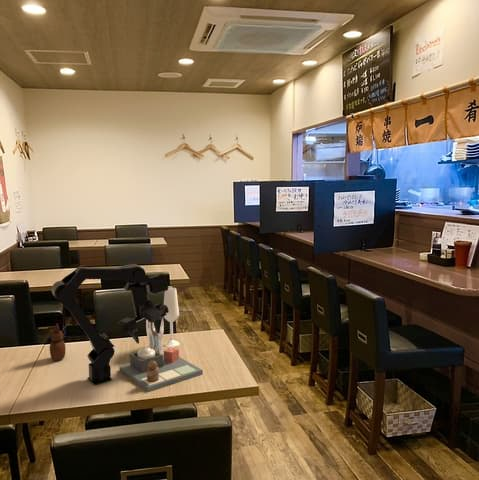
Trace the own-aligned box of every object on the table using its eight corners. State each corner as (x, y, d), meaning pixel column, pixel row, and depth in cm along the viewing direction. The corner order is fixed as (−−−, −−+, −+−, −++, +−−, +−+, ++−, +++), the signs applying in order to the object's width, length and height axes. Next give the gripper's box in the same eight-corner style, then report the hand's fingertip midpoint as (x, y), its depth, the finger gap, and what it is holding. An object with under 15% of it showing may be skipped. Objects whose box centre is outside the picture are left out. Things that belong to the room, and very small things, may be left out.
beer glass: (166, 349, 196) (165, 314, 194) (161, 356, 189) (160, 319, 187) (149, 348, 197) (148, 313, 194) (144, 355, 190) (143, 319, 188)
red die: (172, 362, 179) (172, 352, 178) (164, 360, 181) (163, 350, 180) (178, 359, 182) (178, 349, 181) (170, 357, 184) (170, 347, 183)
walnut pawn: (150, 383, 161) (150, 364, 160) (145, 379, 164) (144, 360, 163) (161, 379, 164) (160, 361, 163) (155, 376, 167) (154, 357, 166)
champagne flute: (164, 347, 198) (163, 291, 195) (162, 341, 204) (161, 287, 201) (180, 346, 200) (179, 290, 196) (178, 340, 206) (177, 286, 203)
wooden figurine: (66, 361, 184) (64, 323, 182) (50, 363, 182) (48, 325, 180) (65, 354, 190) (63, 318, 188) (50, 357, 188) (48, 320, 186)
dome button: (142, 364, 171) (142, 352, 170) (134, 358, 176) (134, 347, 175) (158, 359, 175) (158, 348, 174) (150, 354, 180) (149, 343, 179)
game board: (148, 391, 159) (147, 374, 158) (119, 370, 176) (118, 354, 175) (202, 373, 172) (202, 358, 172) (171, 355, 189) (170, 341, 188)
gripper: (131, 311, 160) (140, 353, 163) (174, 292, 172) (181, 332, 176) (113, 306, 167) (122, 346, 171) (155, 288, 180) (163, 326, 184)
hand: (148, 338), depth 175 cm, fingers open, 9 cm apart
